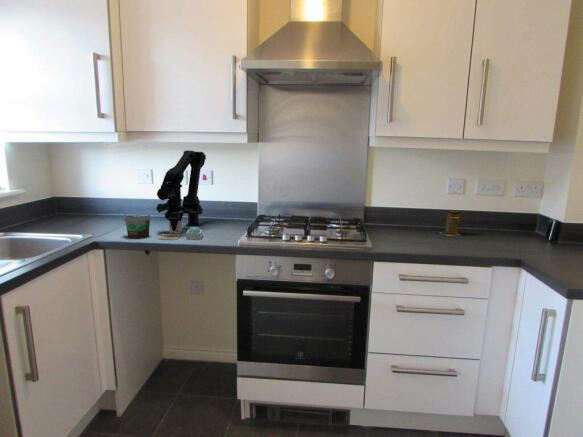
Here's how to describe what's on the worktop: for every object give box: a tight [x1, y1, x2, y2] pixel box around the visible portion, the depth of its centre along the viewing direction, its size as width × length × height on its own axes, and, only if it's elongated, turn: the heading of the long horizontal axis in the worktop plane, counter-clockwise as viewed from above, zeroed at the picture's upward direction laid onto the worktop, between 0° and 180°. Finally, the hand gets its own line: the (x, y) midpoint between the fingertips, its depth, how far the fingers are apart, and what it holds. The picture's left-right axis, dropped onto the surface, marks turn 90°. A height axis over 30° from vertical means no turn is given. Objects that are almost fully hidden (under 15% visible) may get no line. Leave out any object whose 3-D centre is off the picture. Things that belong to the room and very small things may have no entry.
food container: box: [123, 214, 152, 239], centre depth 170 cm, size 12×6×10 cm, turn 92°
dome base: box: [185, 229, 203, 240], centre depth 172 cm, size 6×6×3 cm
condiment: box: [438, 210, 462, 237], centre depth 192 cm, size 7×8×12 cm
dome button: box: [188, 226, 200, 233], centre depth 172 cm, size 4×4×4 cm
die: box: [168, 220, 183, 234], centre depth 182 cm, size 5×5×5 cm
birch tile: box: [157, 233, 182, 240], centre depth 173 cm, size 9×9×1 cm
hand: (175, 228), depth 182 cm, fingers open, 9 cm apart
